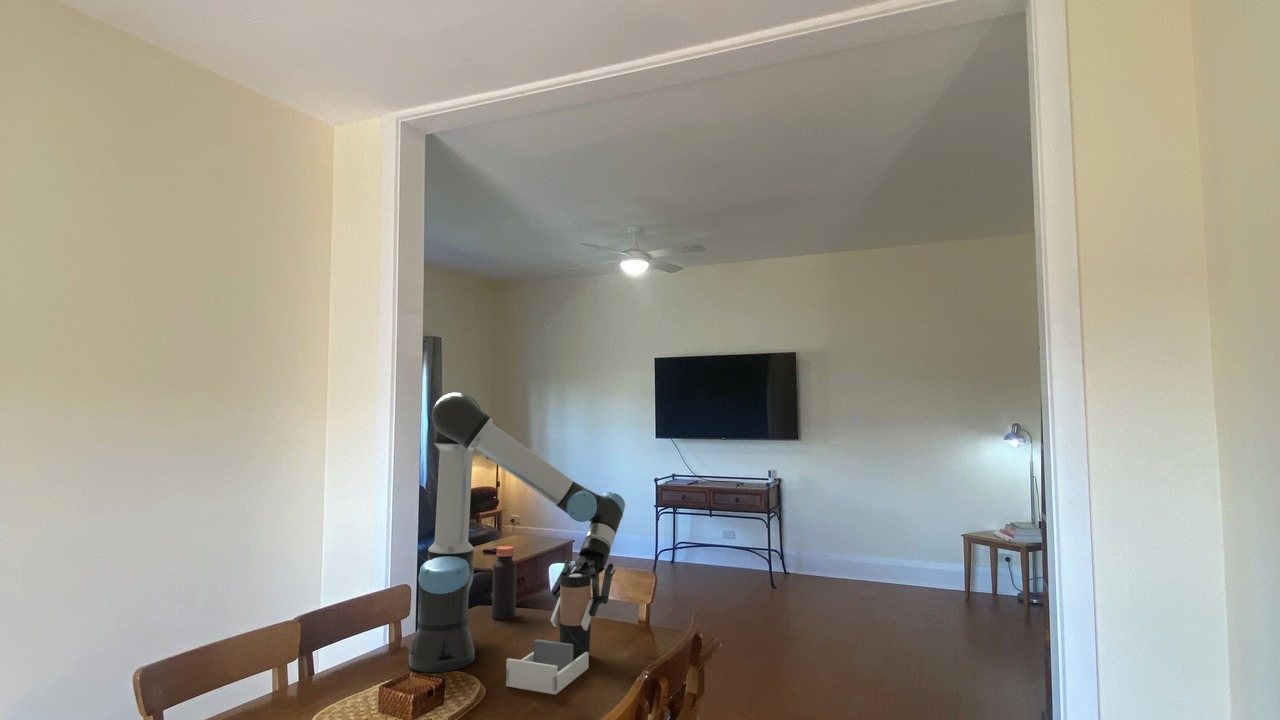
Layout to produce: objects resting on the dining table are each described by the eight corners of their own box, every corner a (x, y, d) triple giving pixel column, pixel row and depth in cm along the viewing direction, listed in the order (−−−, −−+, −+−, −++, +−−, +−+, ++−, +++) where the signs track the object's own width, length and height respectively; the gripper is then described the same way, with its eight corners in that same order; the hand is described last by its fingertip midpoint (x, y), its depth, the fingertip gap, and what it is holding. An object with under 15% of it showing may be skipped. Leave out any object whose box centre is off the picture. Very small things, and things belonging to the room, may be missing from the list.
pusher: (533, 667, 152) (533, 640, 152) (536, 665, 153) (537, 638, 154) (570, 673, 148) (570, 645, 149) (573, 671, 150) (573, 643, 150)
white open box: (506, 686, 144) (506, 659, 144) (542, 661, 158) (543, 637, 159) (555, 694, 139) (555, 667, 140) (588, 668, 154) (588, 643, 154)
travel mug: (585, 664, 156) (586, 578, 158) (554, 661, 158) (555, 576, 160) (594, 653, 164) (594, 571, 166) (564, 651, 165) (565, 569, 167)
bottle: (487, 616, 194) (489, 547, 196) (507, 612, 198) (509, 544, 200) (499, 622, 189) (500, 550, 191) (519, 617, 193) (521, 547, 195)
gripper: (636, 556, 173) (611, 638, 157) (567, 550, 181) (536, 628, 164) (629, 539, 169) (602, 622, 152) (558, 534, 176) (526, 612, 160)
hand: (568, 625), depth 158 cm, fingers closed on travel mug, 7 cm apart
